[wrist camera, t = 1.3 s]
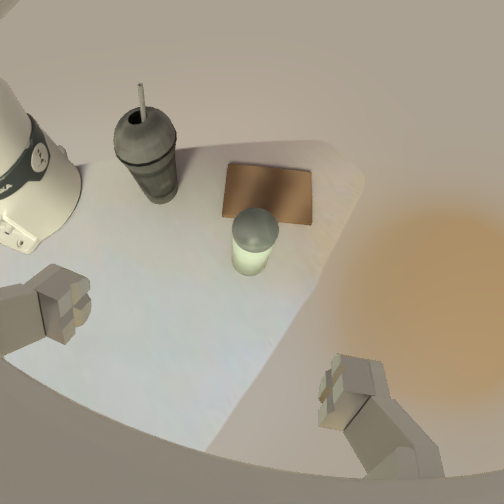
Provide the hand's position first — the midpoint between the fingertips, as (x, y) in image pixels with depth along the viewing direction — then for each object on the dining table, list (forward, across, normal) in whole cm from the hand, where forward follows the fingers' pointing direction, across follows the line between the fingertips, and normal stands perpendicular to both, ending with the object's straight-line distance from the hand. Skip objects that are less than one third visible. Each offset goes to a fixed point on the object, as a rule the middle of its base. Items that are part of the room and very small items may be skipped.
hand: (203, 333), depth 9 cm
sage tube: (+30, 0, +12) cm, 32 cm away
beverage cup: (+34, +15, +8) cm, 38 cm away
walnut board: (+36, 0, +5) cm, 37 cm away
